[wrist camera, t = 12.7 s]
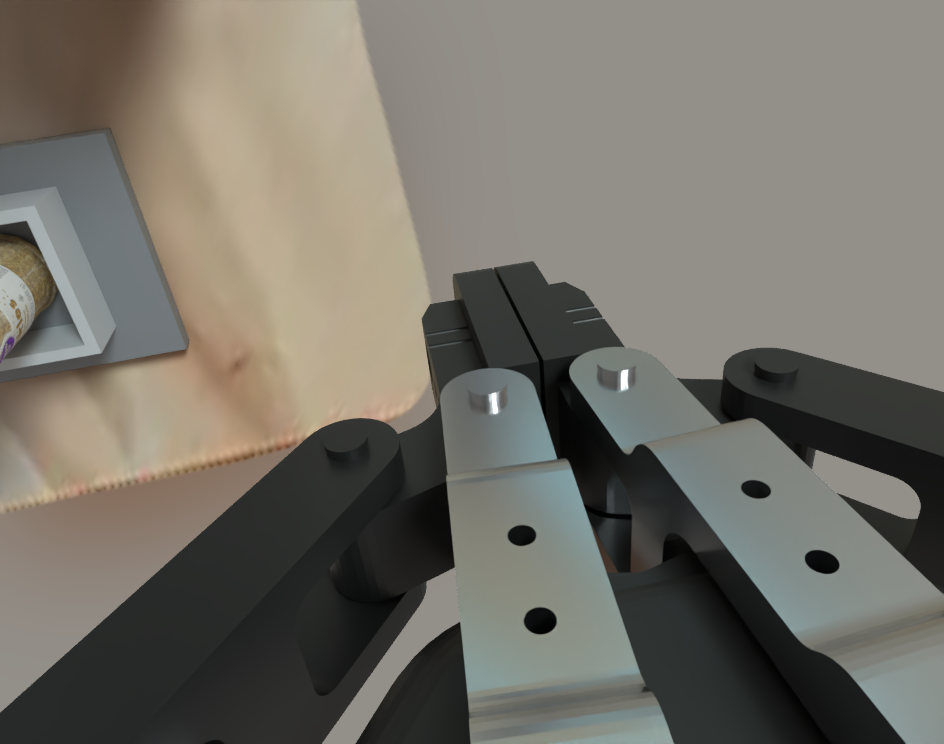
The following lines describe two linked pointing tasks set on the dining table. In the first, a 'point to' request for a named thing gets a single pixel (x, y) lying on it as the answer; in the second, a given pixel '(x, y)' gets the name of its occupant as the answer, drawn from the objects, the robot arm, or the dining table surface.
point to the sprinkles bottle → (21, 289)
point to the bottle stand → (85, 257)
